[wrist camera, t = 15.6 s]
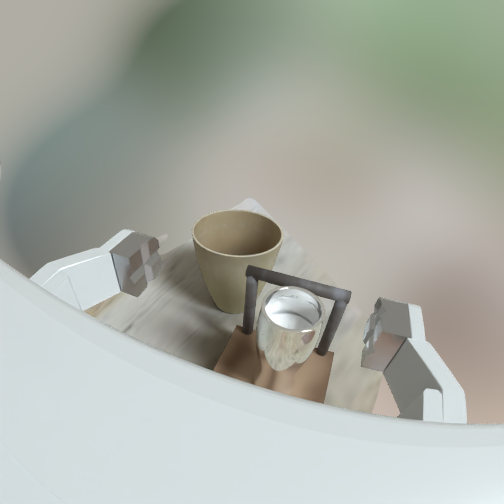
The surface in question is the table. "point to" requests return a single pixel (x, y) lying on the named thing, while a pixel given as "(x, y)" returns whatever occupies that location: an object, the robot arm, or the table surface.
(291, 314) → the beer glass
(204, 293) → the table surface
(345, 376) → the table surface
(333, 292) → the dolly
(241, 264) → the plant pot
